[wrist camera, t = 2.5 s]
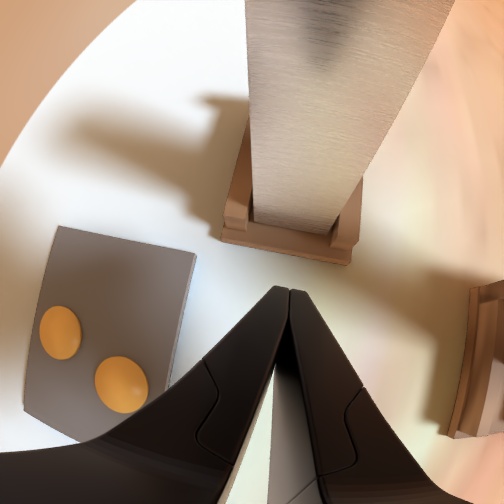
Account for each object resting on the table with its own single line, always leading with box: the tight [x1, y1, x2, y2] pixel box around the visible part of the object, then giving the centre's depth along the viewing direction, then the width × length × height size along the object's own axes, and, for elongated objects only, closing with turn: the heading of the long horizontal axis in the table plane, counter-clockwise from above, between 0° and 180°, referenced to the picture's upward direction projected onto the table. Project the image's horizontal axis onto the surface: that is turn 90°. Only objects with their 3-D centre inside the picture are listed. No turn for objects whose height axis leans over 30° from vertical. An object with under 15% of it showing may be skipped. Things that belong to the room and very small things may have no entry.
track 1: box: [221, 115, 363, 265], centre depth 15 cm, size 9×7×4 cm
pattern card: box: [24, 226, 197, 443], centre depth 15 cm, size 12×9×1 cm
